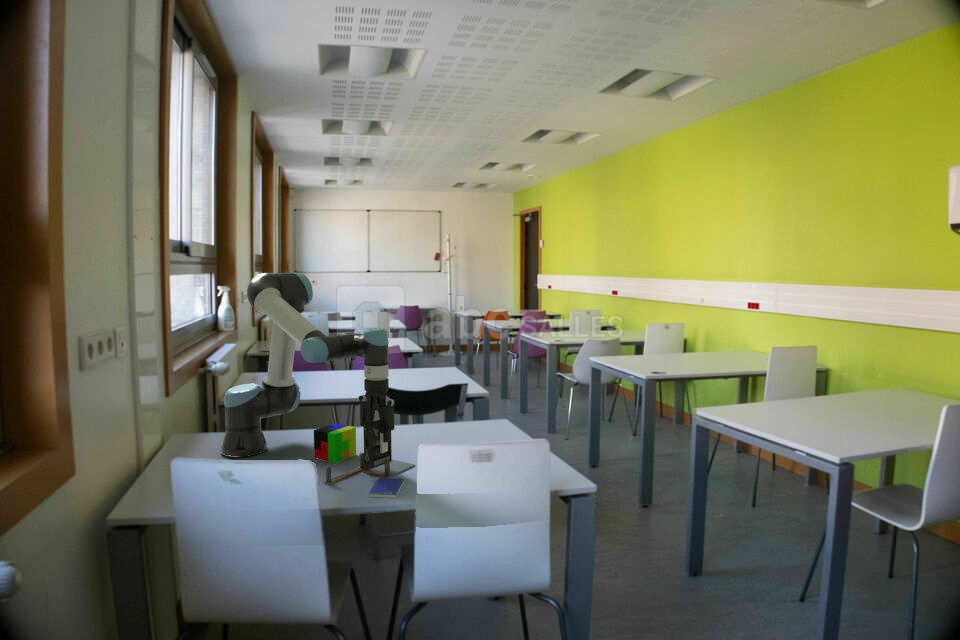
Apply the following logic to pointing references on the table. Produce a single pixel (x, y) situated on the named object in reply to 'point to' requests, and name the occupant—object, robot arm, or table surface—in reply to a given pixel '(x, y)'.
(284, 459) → the table surface
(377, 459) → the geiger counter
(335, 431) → the puzzle toy
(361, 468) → the wide gate
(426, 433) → the table surface
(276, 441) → the table surface
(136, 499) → the table surface
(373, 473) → the narrow gate
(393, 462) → the pad
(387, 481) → the blue book
